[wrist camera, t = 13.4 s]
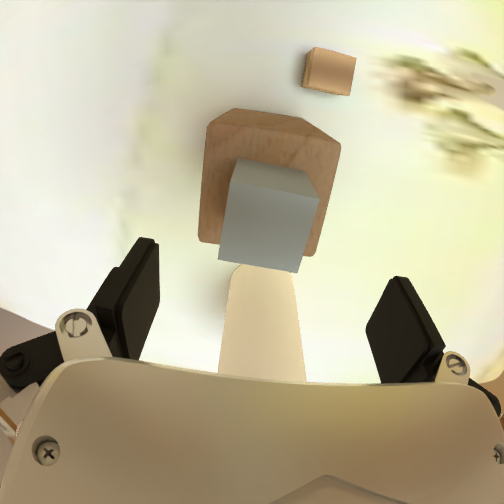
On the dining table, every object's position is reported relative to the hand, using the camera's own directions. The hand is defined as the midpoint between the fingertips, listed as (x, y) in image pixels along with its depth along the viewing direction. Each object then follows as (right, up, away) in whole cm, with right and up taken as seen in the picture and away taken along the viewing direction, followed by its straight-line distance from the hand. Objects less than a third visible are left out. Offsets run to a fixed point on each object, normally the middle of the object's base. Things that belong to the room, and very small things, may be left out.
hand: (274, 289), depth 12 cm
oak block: (+9, +25, +23) cm, 35 cm away
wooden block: (+1, +16, +28) cm, 33 cm away
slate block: (0, +6, +11) cm, 12 cm away
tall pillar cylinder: (+1, -4, +40) cm, 40 cm away
